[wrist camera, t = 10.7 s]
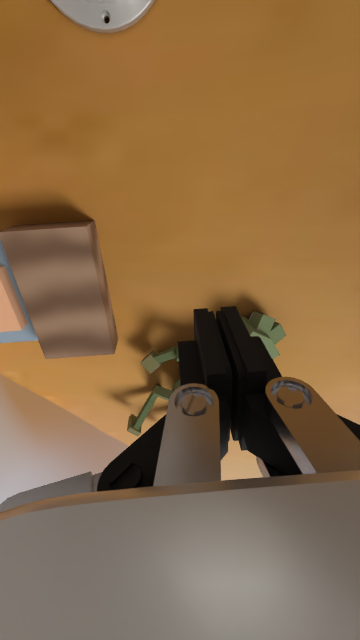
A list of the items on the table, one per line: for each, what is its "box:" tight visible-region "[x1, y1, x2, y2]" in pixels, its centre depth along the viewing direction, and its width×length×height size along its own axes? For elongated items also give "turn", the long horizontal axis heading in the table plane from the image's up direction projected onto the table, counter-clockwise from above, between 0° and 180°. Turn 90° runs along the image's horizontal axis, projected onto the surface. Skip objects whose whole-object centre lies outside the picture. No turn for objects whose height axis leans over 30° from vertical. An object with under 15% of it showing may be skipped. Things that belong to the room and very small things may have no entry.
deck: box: [0, 220, 118, 359], centre depth 37 cm, size 18×10×4 cm, turn 3°
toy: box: [127, 311, 286, 436], centre depth 44 cm, size 21×8×30 cm
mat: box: [0, 240, 38, 343], centre depth 38 cm, size 16×10×1 cm, turn 3°
